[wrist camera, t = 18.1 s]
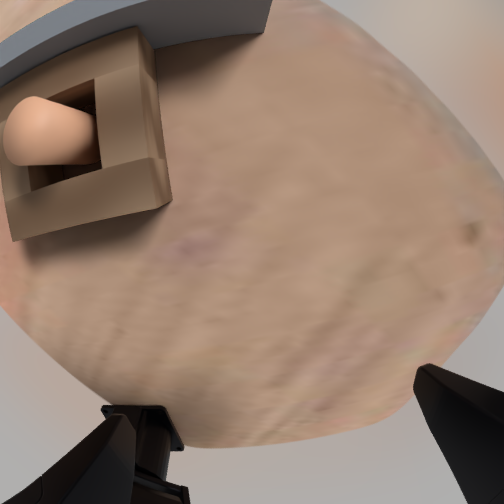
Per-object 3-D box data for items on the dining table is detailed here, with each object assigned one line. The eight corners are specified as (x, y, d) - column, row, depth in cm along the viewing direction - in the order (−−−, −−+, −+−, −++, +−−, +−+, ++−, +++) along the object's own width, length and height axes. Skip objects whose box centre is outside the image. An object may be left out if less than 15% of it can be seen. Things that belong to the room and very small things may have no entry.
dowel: (113, 157, 16) (53, 153, 9) (73, 169, 16) (5, 174, 9) (108, 110, 15) (49, 85, 9) (68, 125, 15) (2, 112, 9)
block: (172, 199, 17) (156, 208, 13) (45, 228, 17) (12, 242, 13) (154, 51, 14) (137, 25, 11) (31, 98, 14) (-2, 89, 10)
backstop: (263, 32, 15) (277, -17, 9) (-23, 128, 14) (-71, 127, 8) (259, 9, 14) (270, -42, 8) (-22, 107, 13) (-69, 103, 8)
